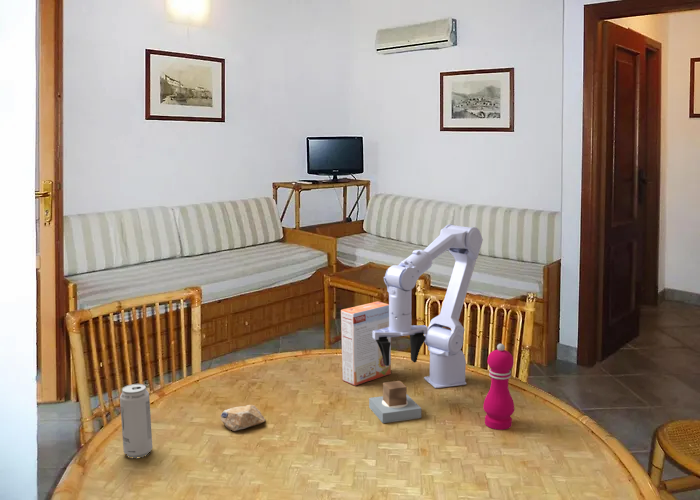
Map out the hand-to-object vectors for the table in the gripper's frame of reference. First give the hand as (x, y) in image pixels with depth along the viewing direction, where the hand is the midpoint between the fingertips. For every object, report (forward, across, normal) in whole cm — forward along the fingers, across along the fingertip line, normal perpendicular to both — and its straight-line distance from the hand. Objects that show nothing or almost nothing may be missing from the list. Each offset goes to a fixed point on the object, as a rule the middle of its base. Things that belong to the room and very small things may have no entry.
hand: (400, 362), depth 175 cm
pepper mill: (+10, +16, -22) cm, 29 cm away
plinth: (+10, -5, -8) cm, 13 cm away
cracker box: (+10, -3, +17) cm, 20 cm away
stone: (+10, -41, -2) cm, 42 cm away
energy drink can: (+9, -66, -10) cm, 67 cm away
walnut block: (+7, -5, -8) cm, 11 cm away
